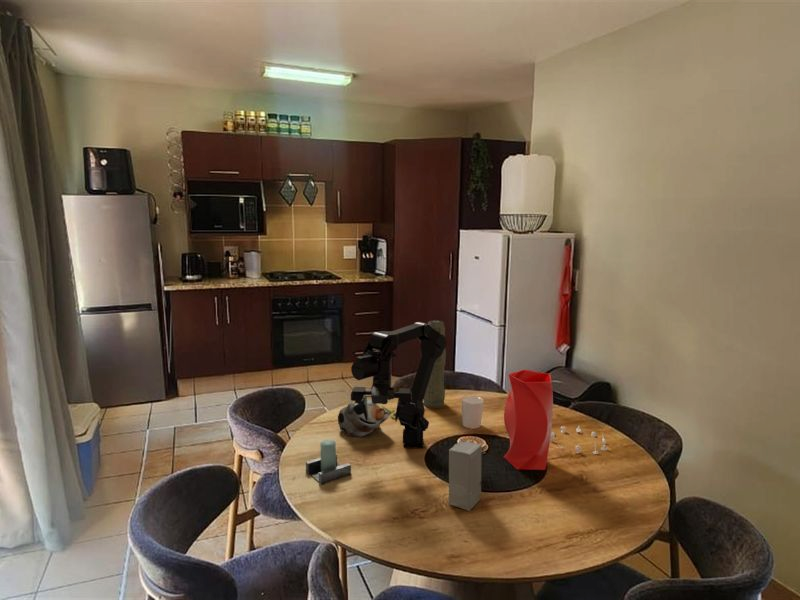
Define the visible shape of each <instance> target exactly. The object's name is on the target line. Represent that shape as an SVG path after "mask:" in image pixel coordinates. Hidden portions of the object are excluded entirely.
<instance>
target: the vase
mask: <svg viewBox="0 0 800 600" xmlns="http://www.w3.org/2000/svg"><path fill="white" fill-rule="evenodd" d="M507 376H508V379H509V382H510V387H511V389H510V391H509V393H508V395H507V398H506V402H505V405H504V410H503V423H504V428H505V430H506V433H507V435H508V438H509V448H508V451H507V452H506V453H505V454H504V456H503V459H505V460H506V461H507V462H508V463H509V464H511V465H512V466H513V467H514V468H515V469H516V470H530V471H531V470H532V471H533V470H535V471H536V470H538V471H545V470H546V468H547V463H548V455H549V449H550V442H551V441H550V436H551V433H552V425H553V414H554V413H553V411H554V397H553V396H554V394H553V384H552V383H553V382H552V375H551V373H546V372H542V371H534V370H529V369H520V370H519V371H515V372H511V373H508V375H507Z"/></svg>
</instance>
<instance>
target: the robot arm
mask: <svg viewBox="0 0 800 600" xmlns="http://www.w3.org/2000/svg"><path fill="white" fill-rule="evenodd" d="M415 339H417V340H419V342H420V344H419V349H420V353H421V354H420V355H421V357H420V361H419V363H418V366H417V368H416V369H417V370H416V372H415V376H414V379H413V381H412V385H411V387H410V388H402V387H401V388H399V390H398V391H395V387H392V359H394V358H396V357H397V354H396V353H395V352H394V351H395V350H397V349H398V347H399V346H400V345H402V344H404V343H407V342H409V341H412V340H415ZM446 346H447V339H446V335H445V336H444V335H441V334H440V333H439V332H437V331H436V330H434V329H433V328H432V327H431V326H430V325H428V322H427V323H426V322H423V321H416V322H414V323H413V324H410V325H407V326H403V327H400V328H398V329H395V330H392V331H391V330H390V331H388V330H387V331H386V330H384V331H382V330H381V331H375V332H373V333H372V334H371V337H370V338H369V340H368V341H367V344H366V345H365V348H364V351H363V352H362V355H363V356H361V355H359V356H356V358H355V361H353V363H352V365H351V366H350V371H351V374H352V376H353V378H354V379H355V380H356V381H363V380H365V379H368V378H372V385H371V388H370V390H366V386H354V387H352V390H351V392H350V401H351V402H355V403H358V404H359V405H360V406H361V408H362V410H363V413H364V416H365V419H366V421H367V420H368V409H367V400H368V399H367V398H371V399H370V400H371V401H372V403H373V404H378V405H380V404H381V405H386V404H388V402H389V401H391V400H394V399H397V404H396V410H395V412H396V415H394V417H395V419H394V421H395V422H396V423H397V422H398V421H399V424H400V426H403V427H404V428H402V444H403V448H409V449H410V448H411V449H413V448H414V449H423V448H424V432H426V430H427V429H428V428H429V425H430V422H429V420H428V419H426V417H424V416H425V413H426V412H425V411H426V409H425V406H424V404H423V402H424V396H425V393H426V389H427V386H428V383H429V380H430V376H431V373H432V370H433V367H434V364H435V361H436V359H437V358H439V357H440V356H441V355H442V353H443V351H444V349H446Z"/></svg>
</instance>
